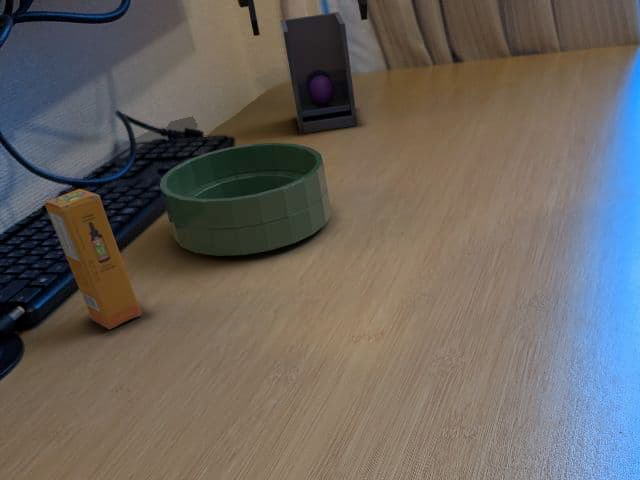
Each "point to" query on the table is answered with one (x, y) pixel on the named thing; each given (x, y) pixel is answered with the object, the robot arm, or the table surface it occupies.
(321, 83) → the ball
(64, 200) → the supplement box
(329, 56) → the dark grey open holder
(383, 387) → the table surface
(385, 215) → the table surface
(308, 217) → the bowl
